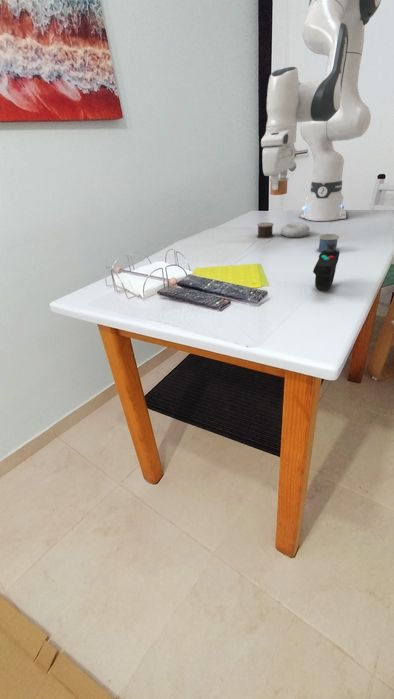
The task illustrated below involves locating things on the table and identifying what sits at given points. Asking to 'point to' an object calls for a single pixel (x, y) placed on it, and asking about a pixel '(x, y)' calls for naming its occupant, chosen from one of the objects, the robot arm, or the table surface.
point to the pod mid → (280, 187)
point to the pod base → (265, 230)
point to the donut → (295, 230)
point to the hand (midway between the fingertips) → (278, 187)
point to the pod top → (327, 241)
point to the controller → (326, 267)
